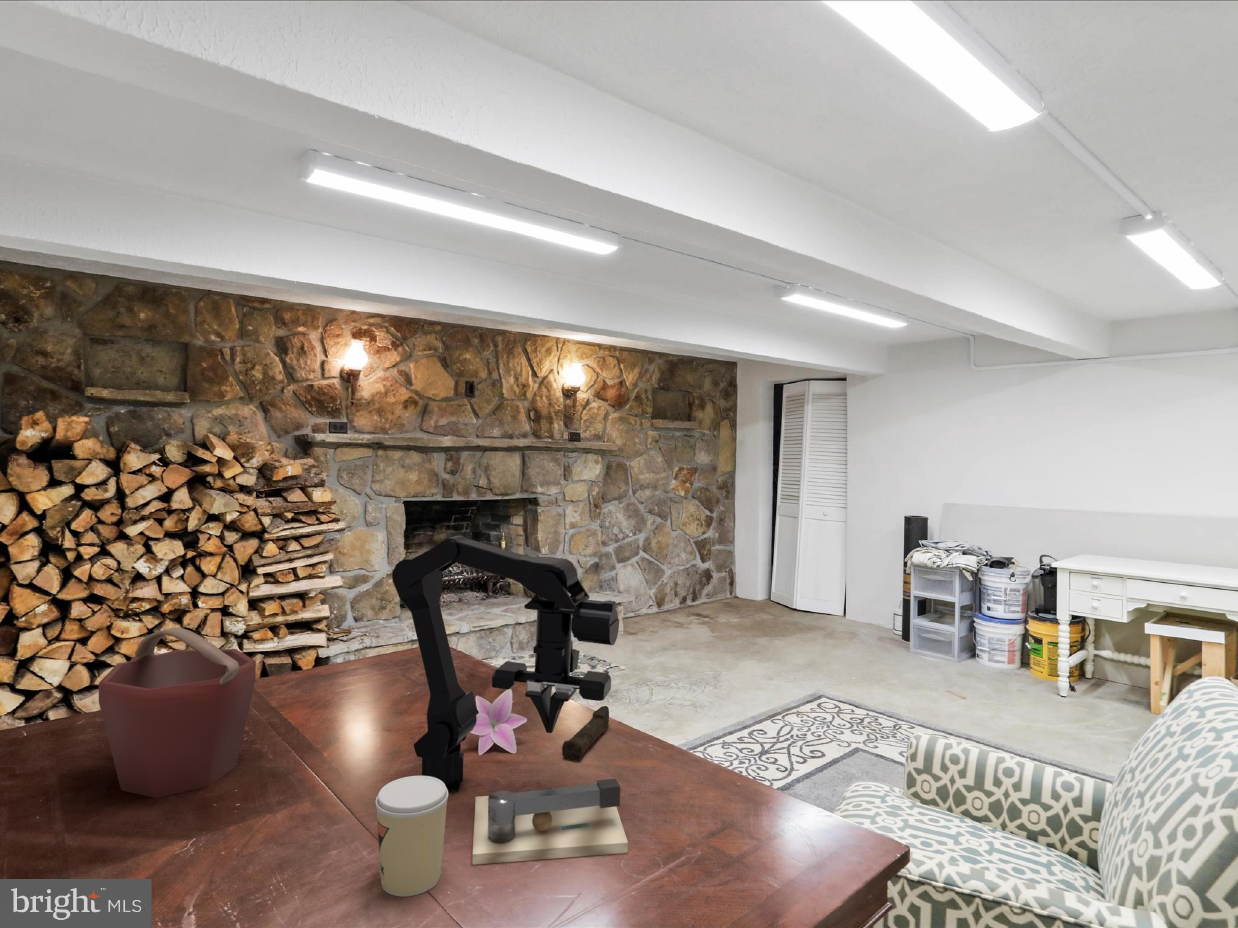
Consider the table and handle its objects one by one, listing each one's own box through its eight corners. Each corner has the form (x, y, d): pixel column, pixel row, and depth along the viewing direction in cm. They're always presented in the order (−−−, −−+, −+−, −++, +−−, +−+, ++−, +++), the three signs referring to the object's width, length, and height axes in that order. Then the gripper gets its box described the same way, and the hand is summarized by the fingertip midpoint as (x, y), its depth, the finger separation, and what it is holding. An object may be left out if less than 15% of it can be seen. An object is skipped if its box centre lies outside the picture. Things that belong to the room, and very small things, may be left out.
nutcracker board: (472, 864, 99) (473, 832, 99) (475, 805, 115) (476, 778, 114) (627, 852, 103) (628, 822, 102) (610, 797, 118) (610, 770, 118)
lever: (489, 844, 101) (489, 804, 101) (486, 829, 105) (487, 790, 105) (620, 826, 106) (621, 788, 106) (613, 812, 110) (614, 776, 110)
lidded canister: (384, 858, 100) (385, 774, 99) (451, 856, 101) (453, 773, 100) (366, 901, 90) (367, 809, 90) (440, 899, 91) (442, 808, 91)
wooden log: (580, 764, 130) (581, 739, 130) (561, 760, 132) (561, 735, 132) (619, 727, 148) (620, 705, 148) (602, 723, 150) (603, 701, 149)
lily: (448, 754, 135) (455, 720, 130) (474, 710, 145) (482, 677, 141) (506, 778, 134) (515, 745, 129) (528, 732, 144) (538, 699, 140)
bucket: (271, 777, 122) (272, 633, 121) (117, 826, 106) (118, 661, 105) (222, 734, 139) (222, 608, 138) (82, 771, 123) (82, 628, 122)
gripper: (620, 630, 121) (616, 720, 122) (516, 619, 125) (513, 706, 126) (605, 648, 110) (600, 747, 111) (492, 636, 114) (488, 732, 115)
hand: (549, 731), depth 116 cm, fingers closed
